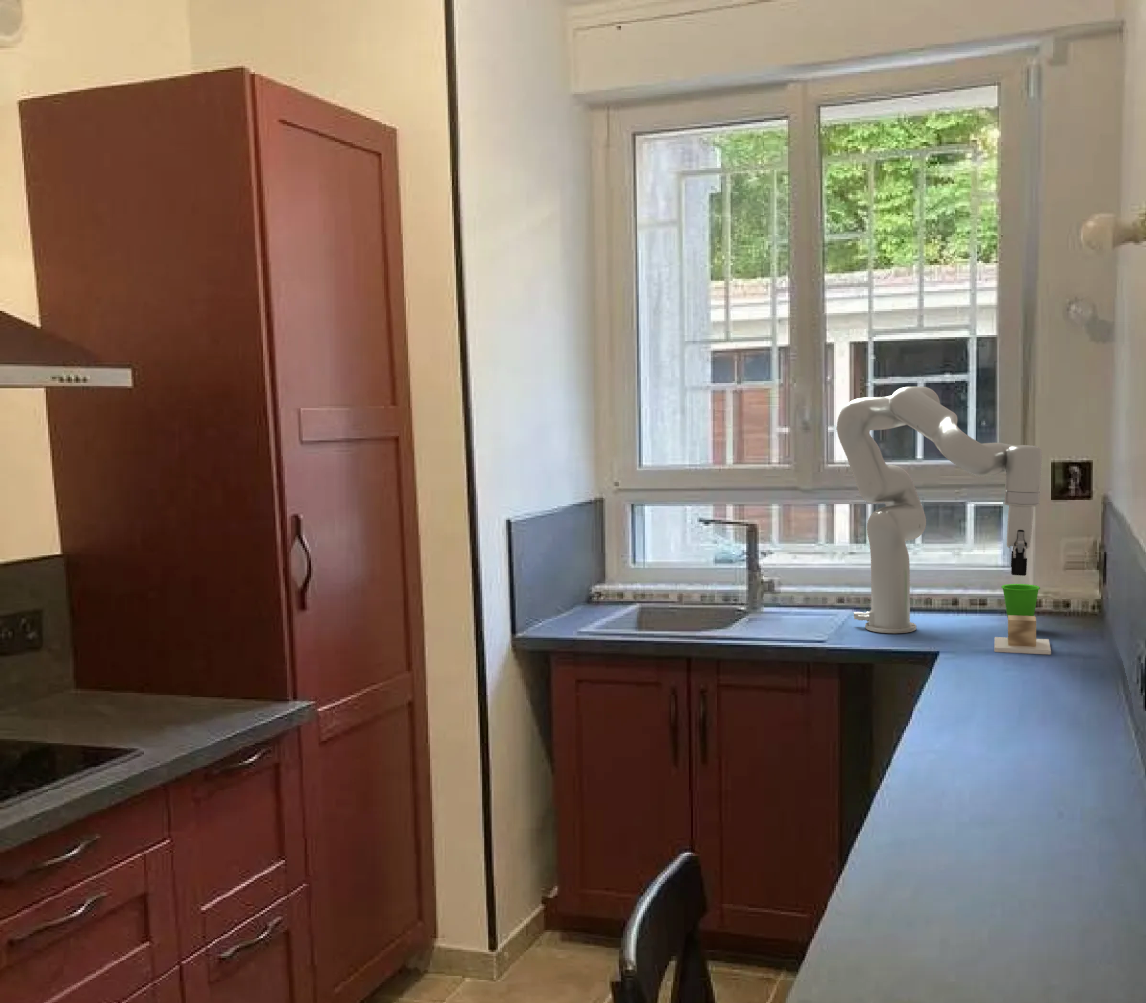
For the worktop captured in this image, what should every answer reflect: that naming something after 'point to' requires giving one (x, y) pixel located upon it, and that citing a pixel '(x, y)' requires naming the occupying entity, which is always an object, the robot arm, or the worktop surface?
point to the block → (1021, 630)
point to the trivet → (1022, 647)
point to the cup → (1020, 599)
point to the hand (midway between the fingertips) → (1018, 571)
